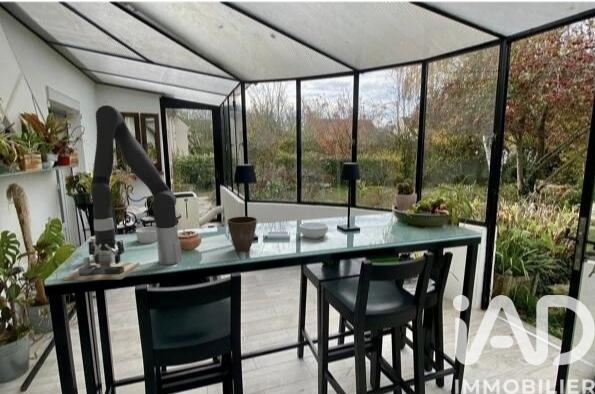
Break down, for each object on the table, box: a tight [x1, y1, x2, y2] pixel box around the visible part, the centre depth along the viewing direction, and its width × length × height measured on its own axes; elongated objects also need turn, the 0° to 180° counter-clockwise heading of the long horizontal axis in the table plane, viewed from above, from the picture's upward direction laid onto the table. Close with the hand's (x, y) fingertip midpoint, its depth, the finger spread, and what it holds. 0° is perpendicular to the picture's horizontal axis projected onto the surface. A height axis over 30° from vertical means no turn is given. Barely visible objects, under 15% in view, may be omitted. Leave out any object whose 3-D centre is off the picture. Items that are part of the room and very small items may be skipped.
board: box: [62, 262, 141, 281], centre depth 141 cm, size 24×16×1 cm, turn 90°
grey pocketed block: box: [99, 251, 116, 267], centre depth 145 cm, size 5×5×6 cm
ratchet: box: [77, 256, 124, 276], centre depth 137 cm, size 18×6×7 cm, turn 90°
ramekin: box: [135, 225, 157, 244], centre depth 187 cm, size 13×13×7 cm
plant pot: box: [227, 216, 258, 253], centre depth 169 cm, size 15×15×16 cm
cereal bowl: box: [299, 221, 329, 240], centre depth 192 cm, size 17×17×7 cm
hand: (107, 263), depth 145 cm, fingers open, 8 cm apart
